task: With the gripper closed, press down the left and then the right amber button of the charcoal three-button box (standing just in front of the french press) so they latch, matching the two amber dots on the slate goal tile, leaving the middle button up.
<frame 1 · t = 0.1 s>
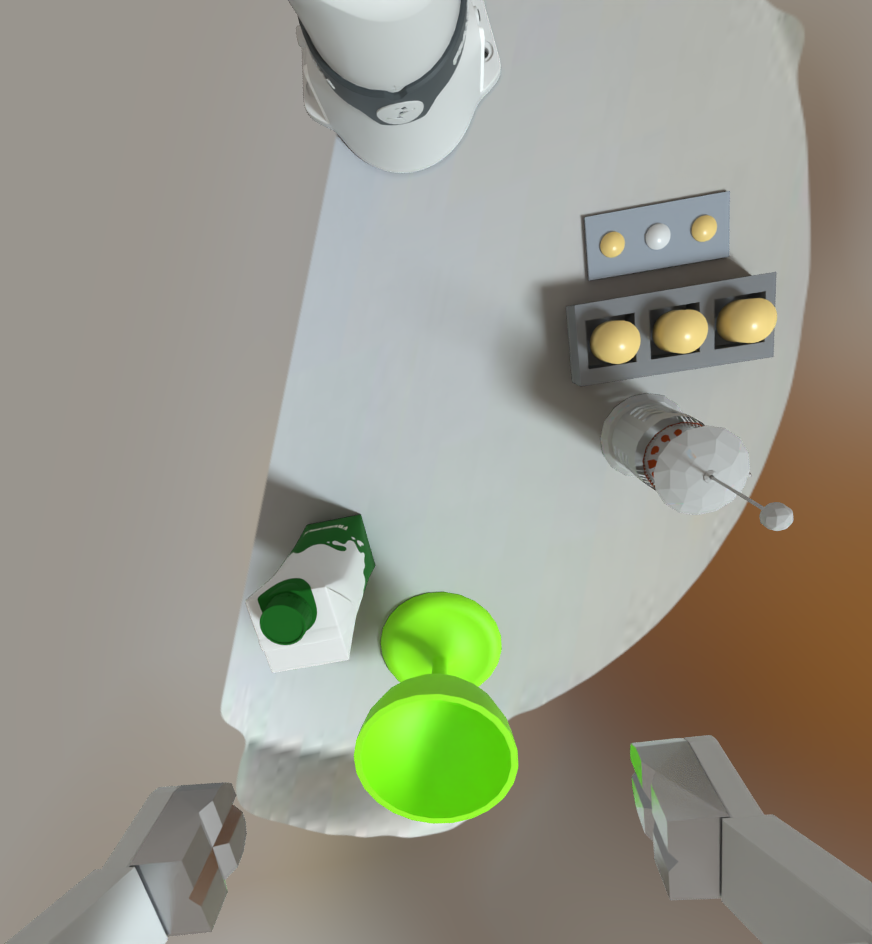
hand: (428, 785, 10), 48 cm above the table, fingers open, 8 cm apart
milk carton: (341, 545, 62), on the table
middle button: (679, 331, 48), point 5 cm above the table, slide at 0.0 cm
button board: (658, 330, 53), on the table
wineglass: (440, 644, 65), on the table
french press: (650, 438, 56), on the table
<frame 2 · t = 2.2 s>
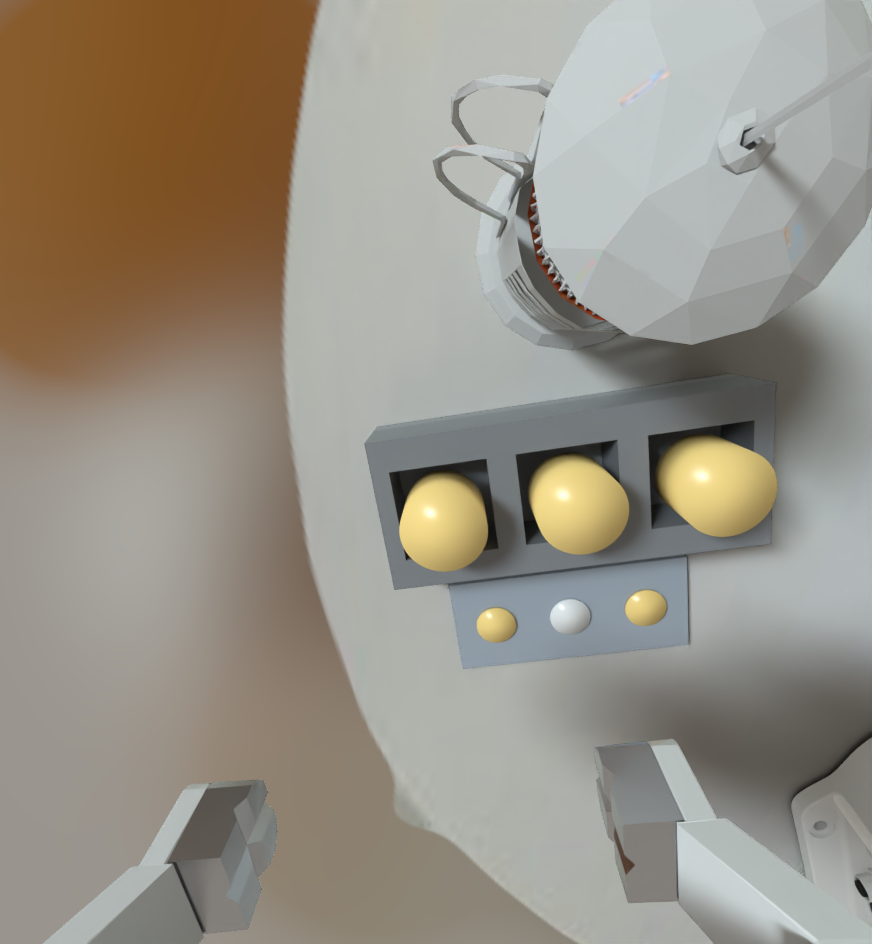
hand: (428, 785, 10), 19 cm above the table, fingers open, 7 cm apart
middle button: (574, 501, 23), point 5 cm above the table, slide at 0.0 cm
button board: (554, 470, 28), on the table
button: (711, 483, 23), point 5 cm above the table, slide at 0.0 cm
french press: (556, 243, 25), on the table
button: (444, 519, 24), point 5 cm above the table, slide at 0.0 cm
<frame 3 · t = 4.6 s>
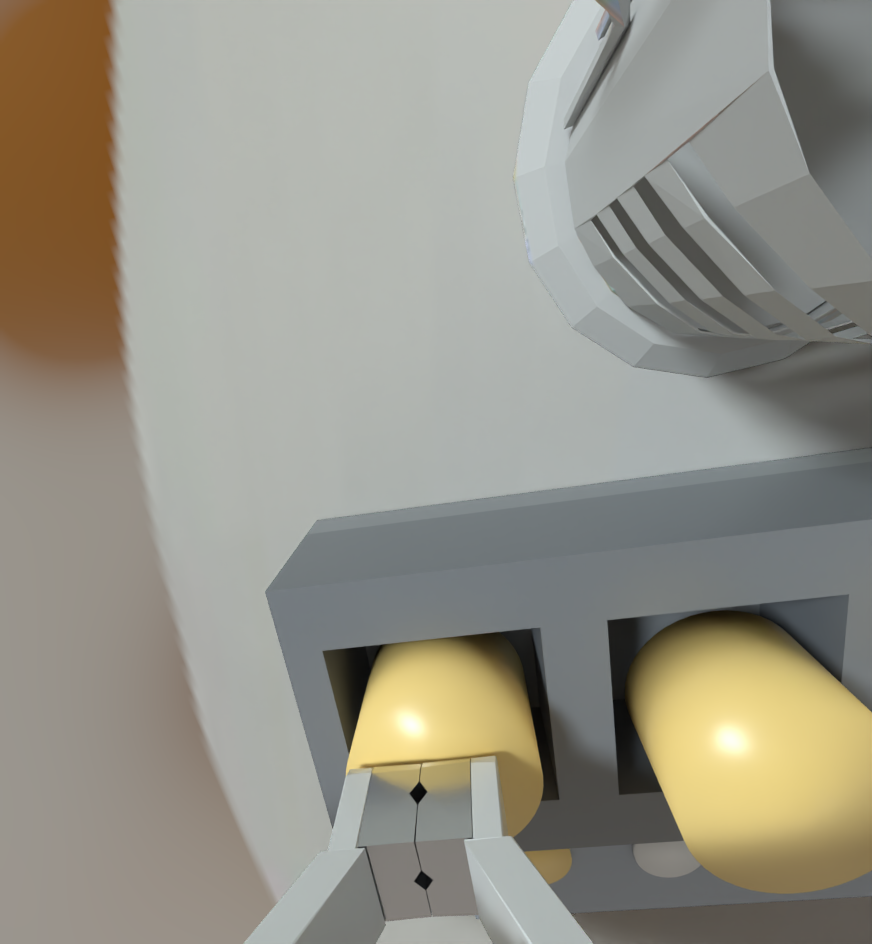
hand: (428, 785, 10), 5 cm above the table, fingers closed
middle button: (750, 739, 10), point 5 cm above the table, slide at 0.0 cm
button board: (655, 603, 15), on the table
french press: (688, 150, 11), on the table
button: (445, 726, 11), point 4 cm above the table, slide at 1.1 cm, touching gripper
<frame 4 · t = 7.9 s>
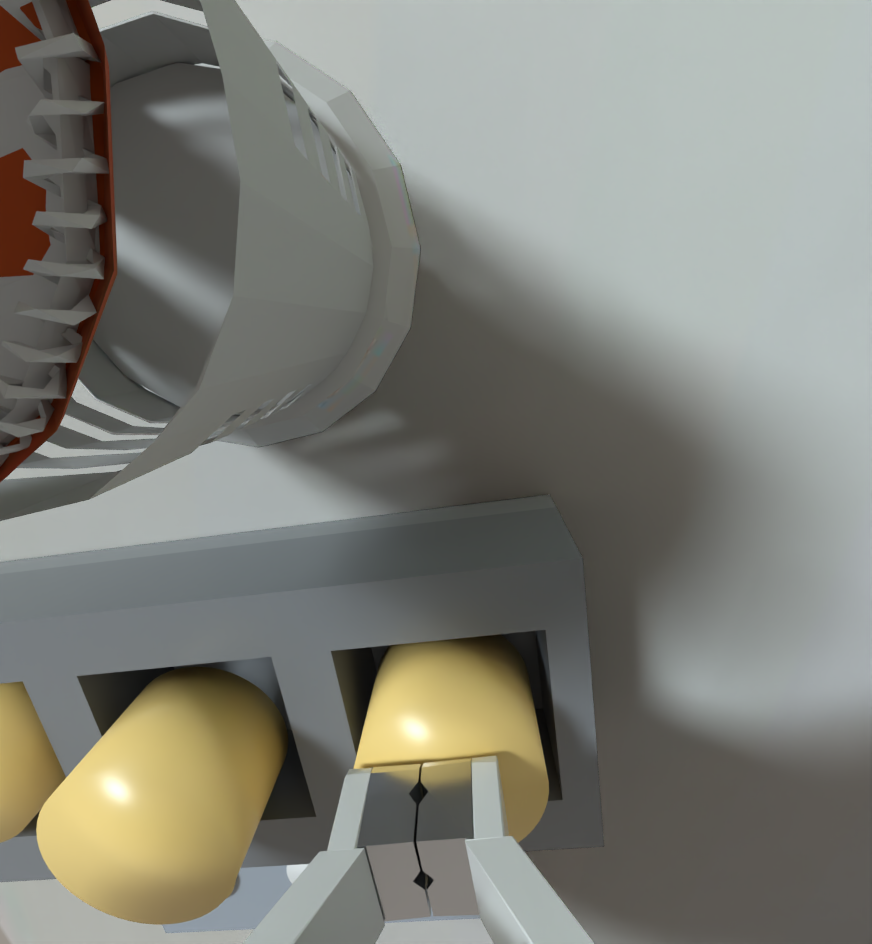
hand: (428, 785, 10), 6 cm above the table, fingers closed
middle button: (178, 785, 11), point 5 cm above the table, slide at 0.0 cm
button board: (263, 647, 16), on the table
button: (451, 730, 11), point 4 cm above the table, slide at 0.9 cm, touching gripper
french press: (200, 249, 13), on the table
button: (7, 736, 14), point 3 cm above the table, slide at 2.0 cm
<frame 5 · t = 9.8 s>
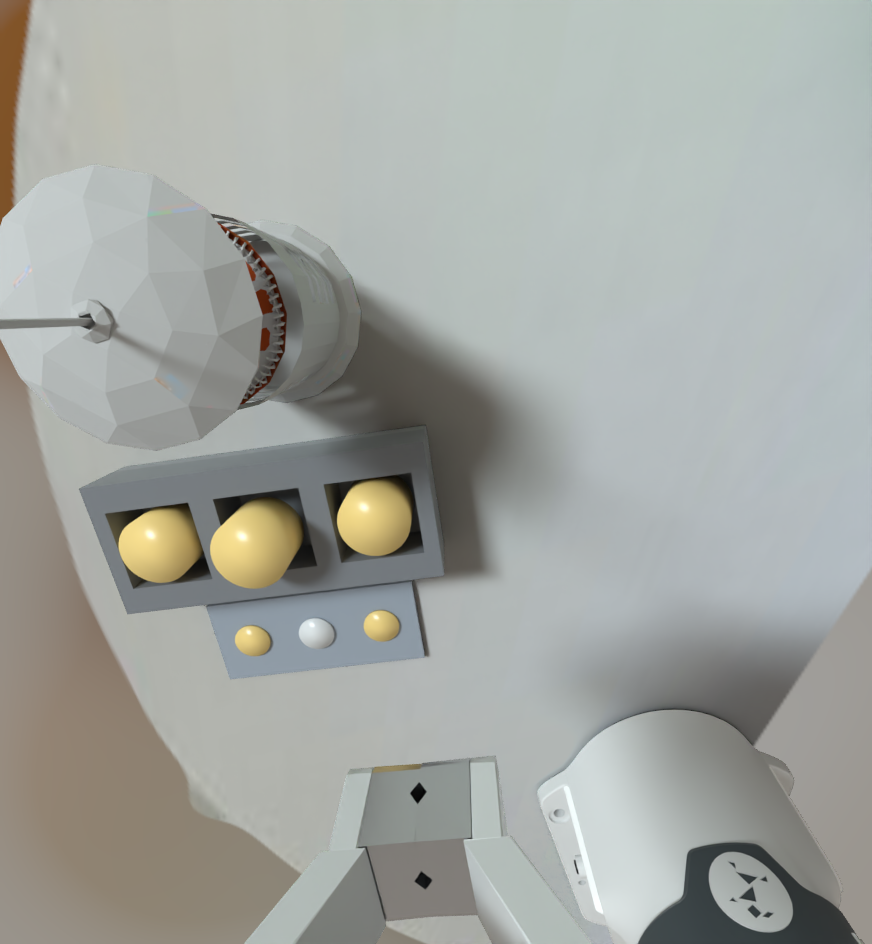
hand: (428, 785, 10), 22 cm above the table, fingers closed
middle button: (259, 541, 27), point 5 cm above the table, slide at 0.0 cm
button board: (287, 506, 31), on the table
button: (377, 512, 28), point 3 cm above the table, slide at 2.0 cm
french press: (260, 310, 28), on the table
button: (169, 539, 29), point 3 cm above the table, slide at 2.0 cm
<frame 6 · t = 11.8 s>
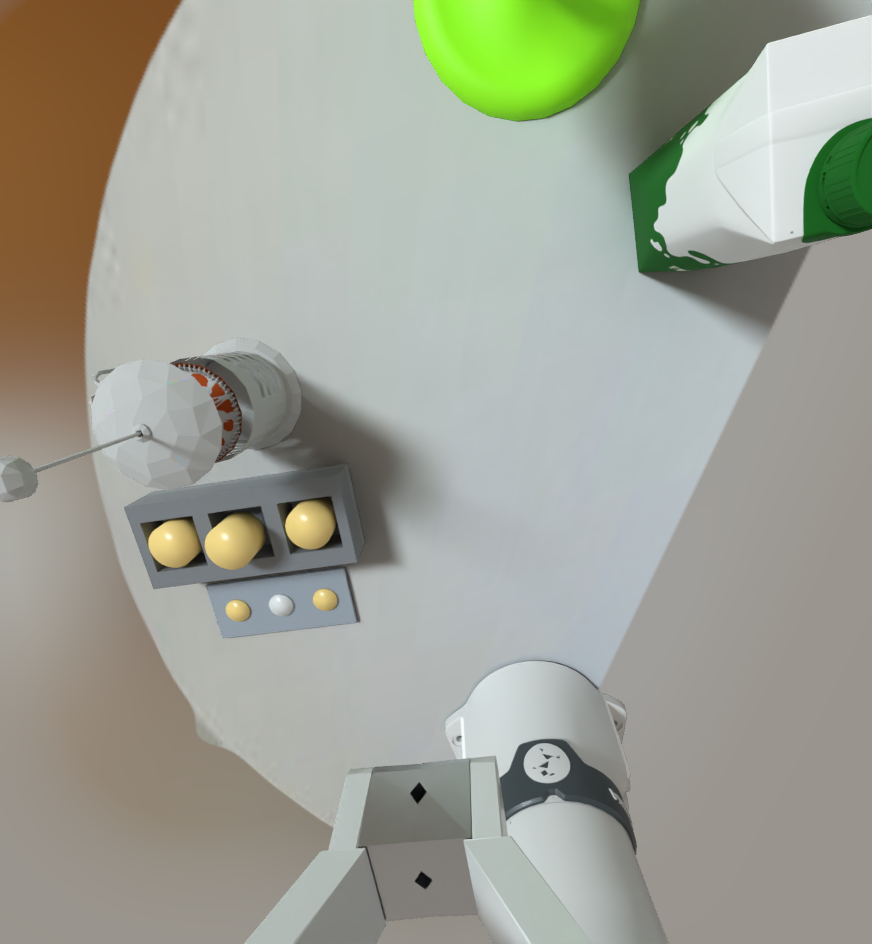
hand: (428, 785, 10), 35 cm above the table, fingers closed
milk carton: (678, 213, 38), on the table
middle button: (236, 540, 42), point 5 cm above the table, slide at 0.0 cm
button board: (259, 517, 47), on the table
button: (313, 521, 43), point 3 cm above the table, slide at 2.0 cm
french press: (238, 392, 44), on the table
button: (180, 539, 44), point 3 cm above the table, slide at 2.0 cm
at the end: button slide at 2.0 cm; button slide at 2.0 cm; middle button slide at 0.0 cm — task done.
